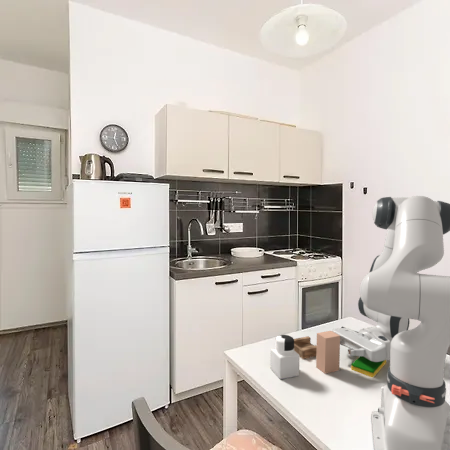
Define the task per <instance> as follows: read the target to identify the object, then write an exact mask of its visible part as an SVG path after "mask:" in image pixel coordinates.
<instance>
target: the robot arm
mask: <svg viewBox="0 0 450 450" xmlns="http://www.w3.org/2000/svg"><path fill="white" fill-rule="evenodd" d="M371 213H372V220H373V224H375V226H376V227H377V228H379V229H382V230H387V231H386V235H385V238H384V245H383V250H382V251H381V253H380V254H378V255H377V256H376V257H375V258H374V259H373V261H372V263H371V265H370V266H371V267H370V269H369V272H368V273H367V274H366V275H364V276H363V278H362V280H361V282H360V285H359V295H360V297H359V298H358V299H359V300H358V302H357V307H358V310H359V313H360V314H361V315H362V316H364V317H366V318H368V319H370V320H372V321H374V322H375V323H376V325H375V326H369V327H362V328H361V329H358V331H357V332H358V333H357V332H355V331H356V330H354V331H353V329H351V328H348V327H345V328H341V327H340V328H339V327H338V328H333V329H332V330H331V331H332V332H334V333H336V334H338V335H340V343H341V344H342V345H341V344H340V345H341V346H343V345H344V347H345V348H348V349H347V351H348V352H347V353H348V355H350V356H351V357H354V356H357V357H360V356H363V357H365V358H367V359H369V360H370V361H373V362H380V361H384V360H386V361H389V366H388V368H387V373H386V379H387V381H386V384H385V385H382V386H381V390H380V407H378V409H377V410H373V411H371V414H370V419H371V421H370V422H371V430H372V440H373V450H450V403H448V401H447V400H446V394H447V387H446V382H445V379H444V378H445V375H444V374H445V365H446V358H447V355H448V354H447V353H448V350H449V348H450V276H447V275H439V274H438V275H436V274H427V273H425V274H424V273H419V272H421V271H424V270H428V269H430V268H432V267H434V266H436V265H437V264H439V262H441V260H442V259H443V257H444V255H445V248H444V247H445V245H444V235H445V234H447V233H449V232H450V203H449V202H445V201H441V200H437V201H435V200H433V199H432V198H430V197H429V196H428V197H427V196H424V195H415V196H414V195H413V196H411V197H403V196H402V197H392V196H386V197H385V196H384V197H380V198H379V199H378V200H376V203H375V204H374V206H373V208H372V212H371ZM410 320H415V321H417V322H418V321H419V322H420V323H419V324H418V325H417V326H416V327H414V328H411V329H409V327H410V323H411V322H410Z"/></svg>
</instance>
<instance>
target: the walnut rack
mask: <svg viewBox="0 0 450 450" xmlns="http://www.w3.org/2000/svg"><path fill="white" fill-rule="evenodd" d="M293 339H294V351H295V352H296V353H298V354H299V356H300V358H301V359H302V360H304V359H311V358H314V357H316V350H317V344H316V345H314V344H313V343H311V337H310V336H303V337H297V338H293Z"/></svg>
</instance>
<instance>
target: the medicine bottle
mask: <svg viewBox="0 0 450 450" xmlns="http://www.w3.org/2000/svg"><path fill="white" fill-rule="evenodd" d="M294 339H295V338H294V337H293V336H290V335H288V334H281V335H280V334H279V335H277V336H276V338H275V347H273V348H270V360H269V361H270V364H269V365H270V370H271V371H272V372H273V373H274V374H275V376H276V377H277V378H278V379H280V380H284V379H289V378H295V377H299V376H300V358H301V357H300V356H299V354H298V353H296V352H295V351H294Z"/></svg>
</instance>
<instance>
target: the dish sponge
mask: <svg viewBox="0 0 450 450" xmlns="http://www.w3.org/2000/svg"><path fill="white" fill-rule="evenodd" d="M386 364H387V360H384V361H380V362H373V361H370V360H369V359H367V358H365V357H363V356H358V357H357V358H356V359H355V360H354V361H353V362H352V363H351V367H350V368H351V371H352V372H353V371H354V372H357V373H359V374H362V375H364V376H366V377H370V378H374V377H376V375H377V374H379V372H380V371H381V369H383V368H384V366H385V365H386Z"/></svg>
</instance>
